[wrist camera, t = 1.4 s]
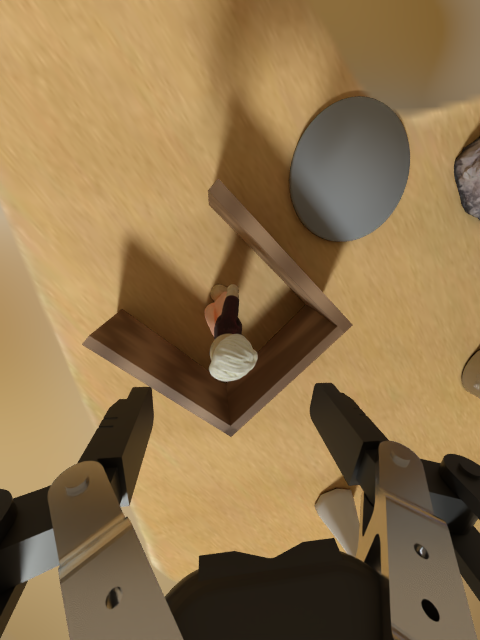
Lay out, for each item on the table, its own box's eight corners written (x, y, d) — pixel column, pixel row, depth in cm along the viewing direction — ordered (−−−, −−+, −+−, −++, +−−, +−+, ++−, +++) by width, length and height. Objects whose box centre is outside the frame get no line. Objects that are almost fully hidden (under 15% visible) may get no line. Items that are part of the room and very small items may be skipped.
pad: (421, 110, 21) (427, 106, 21) (385, 244, 25) (389, 244, 25) (299, 90, 20) (301, 86, 19) (282, 237, 24) (283, 237, 23)
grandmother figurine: (200, 276, 24) (190, 315, 12) (236, 273, 24) (260, 307, 12) (209, 342, 27) (208, 425, 15) (241, 338, 27) (265, 416, 15)
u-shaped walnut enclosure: (317, 303, 27) (352, 325, 20) (226, 392, 29) (231, 436, 23) (215, 196, 22) (218, 178, 15) (116, 315, 24) (81, 344, 18)
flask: (355, 483, 39) (401, 560, 30) (350, 510, 42) (390, 589, 32) (315, 490, 38) (349, 571, 29) (312, 517, 41) (342, 599, 32)
